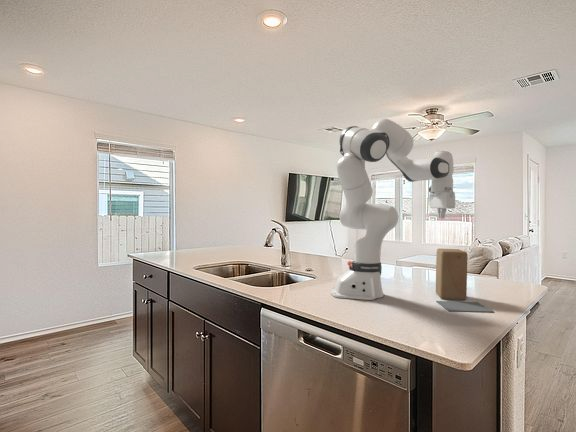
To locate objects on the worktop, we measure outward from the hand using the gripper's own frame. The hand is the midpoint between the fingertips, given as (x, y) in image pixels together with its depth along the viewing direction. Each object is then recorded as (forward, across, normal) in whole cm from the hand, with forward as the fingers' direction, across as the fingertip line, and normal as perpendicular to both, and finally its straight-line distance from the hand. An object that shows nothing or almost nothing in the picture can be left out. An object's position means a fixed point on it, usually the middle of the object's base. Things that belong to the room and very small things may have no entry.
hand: (441, 218), depth 150 cm
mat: (+33, -25, +1) cm, 41 cm away
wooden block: (+33, -11, 0) cm, 35 cm away
